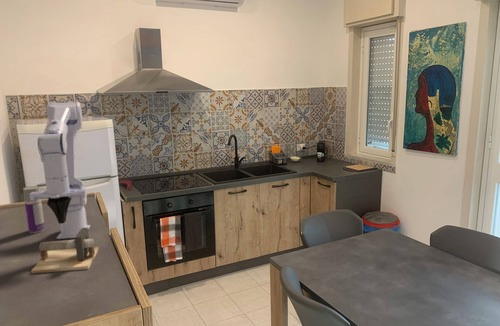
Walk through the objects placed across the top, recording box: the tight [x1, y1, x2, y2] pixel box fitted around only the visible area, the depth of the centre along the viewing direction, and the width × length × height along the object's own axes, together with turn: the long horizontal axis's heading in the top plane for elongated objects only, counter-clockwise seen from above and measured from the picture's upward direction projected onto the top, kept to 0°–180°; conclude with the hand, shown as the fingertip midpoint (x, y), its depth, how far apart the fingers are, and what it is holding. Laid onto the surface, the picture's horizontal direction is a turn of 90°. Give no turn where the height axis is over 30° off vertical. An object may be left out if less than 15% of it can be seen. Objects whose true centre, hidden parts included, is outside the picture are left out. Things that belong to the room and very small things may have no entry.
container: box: [22, 185, 46, 234], centre depth 122 cm, size 5×5×15 cm
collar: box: [74, 228, 90, 261], centre depth 103 cm, size 7×2×7 cm, turn 9°
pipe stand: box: [31, 238, 100, 275], centre depth 102 cm, size 12×14×6 cm
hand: (62, 222), depth 106 cm, fingers closed
